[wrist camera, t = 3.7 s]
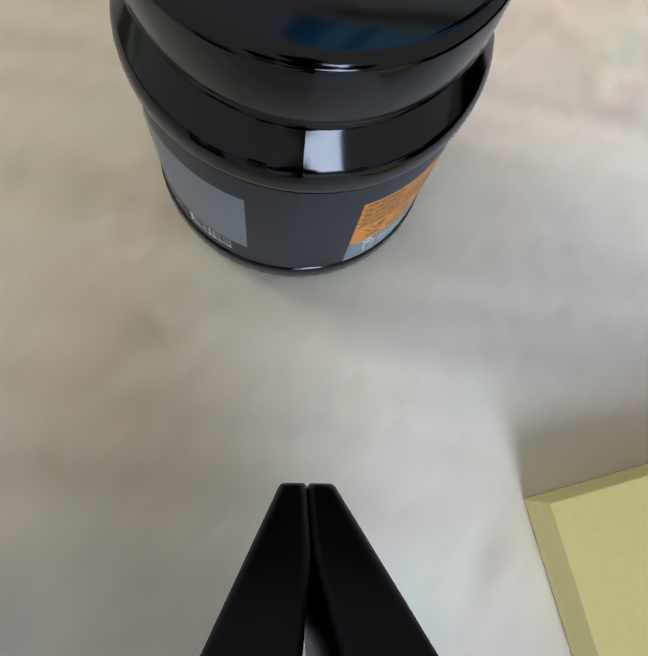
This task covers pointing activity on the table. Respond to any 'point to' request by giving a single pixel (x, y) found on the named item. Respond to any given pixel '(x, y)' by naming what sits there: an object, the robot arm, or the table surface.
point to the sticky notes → (598, 560)
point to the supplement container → (302, 115)
